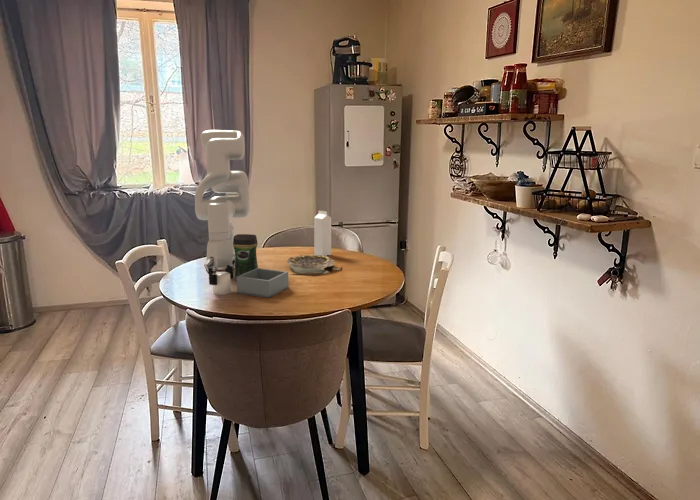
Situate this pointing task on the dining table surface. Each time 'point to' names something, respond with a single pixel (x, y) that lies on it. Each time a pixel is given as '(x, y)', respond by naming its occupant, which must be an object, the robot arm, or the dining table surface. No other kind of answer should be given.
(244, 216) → the robot arm
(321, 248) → the milk
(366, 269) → the dining table surface
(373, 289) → the dining table surface
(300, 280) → the dining table surface
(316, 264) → the pie
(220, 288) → the cream rounded block
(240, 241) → the coffee jar
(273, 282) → the tub
